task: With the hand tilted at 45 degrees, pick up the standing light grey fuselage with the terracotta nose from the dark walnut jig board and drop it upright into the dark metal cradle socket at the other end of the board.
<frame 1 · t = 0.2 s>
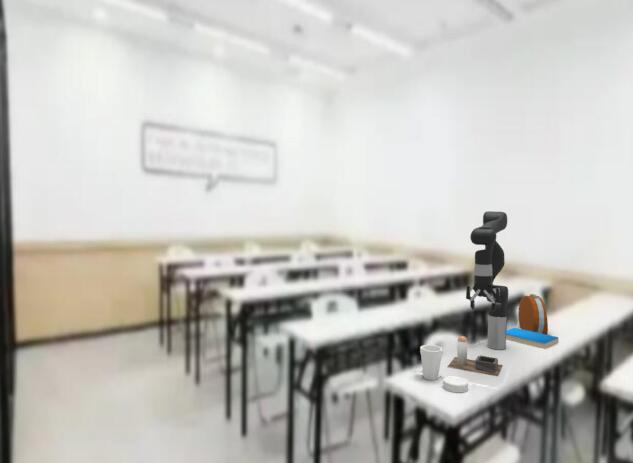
hand: (482, 310, 200), 29 cm above the table, tool pointing down, fingers open, 8 cm apart
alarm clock: (533, 331, 271), on the table
coaster: (455, 388, 186), on the table
foam cup: (430, 377, 198), on the table
book: (528, 341, 253), on the table
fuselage: (461, 363, 211), point 1 cm above the table, touching jig board
jig board: (475, 368, 208), on the table
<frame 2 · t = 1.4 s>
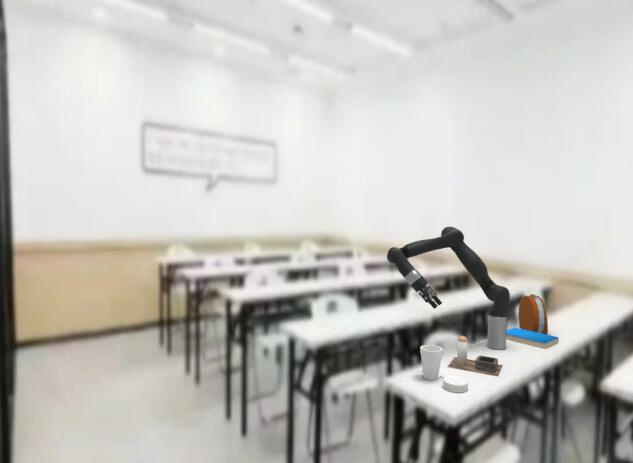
hand: (438, 305, 218), 27 cm above the table, tool tilted 45°, fingers open, 8 cm apart
nothing on the table moved.
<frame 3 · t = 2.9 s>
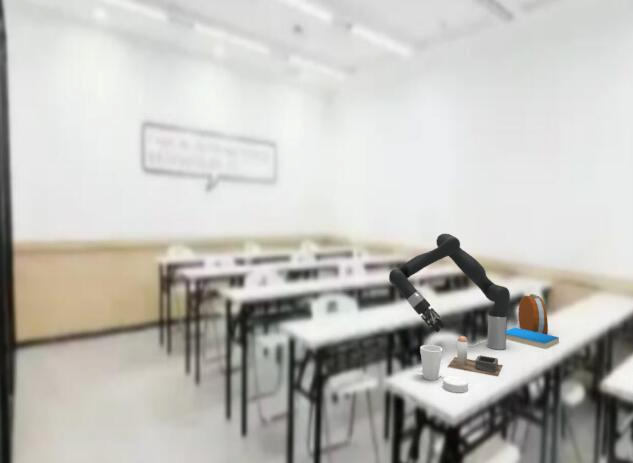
hand: (441, 329, 215), 16 cm above the table, tool tilted 45°, fingers open, 8 cm apart
nothing on the table moved.
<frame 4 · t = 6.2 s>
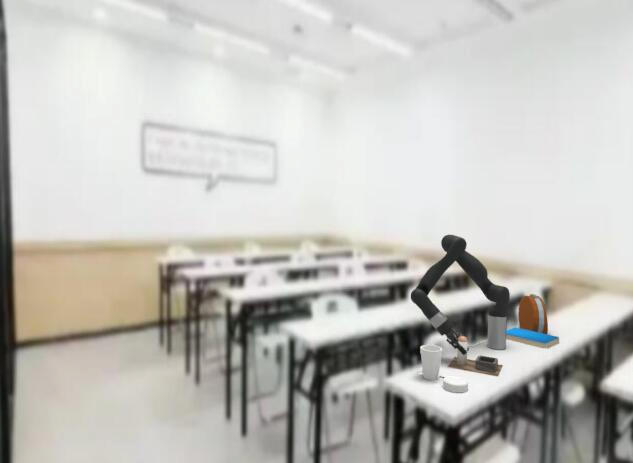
hand: (466, 352, 210), 7 cm above the table, tool tilted 45°, fingers closed on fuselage, 4 cm apart
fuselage: (461, 363, 211), point 1 cm above the table, touching gripper, jig board
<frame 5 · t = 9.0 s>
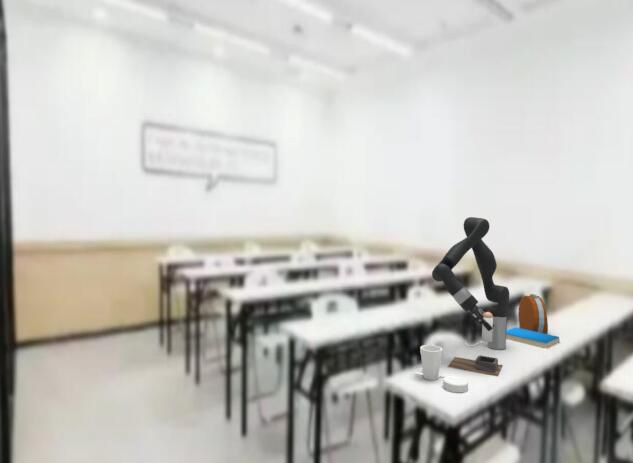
hand: (491, 328, 204), 20 cm above the table, tool tilted 45°, fingers closed on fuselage, 4 cm apart
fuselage: (486, 340, 205), point 14 cm above the table, touching gripper
when the fingers open (9 cm above the table, at t = 12.1 s): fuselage drops 1 cm, resting on jig board.
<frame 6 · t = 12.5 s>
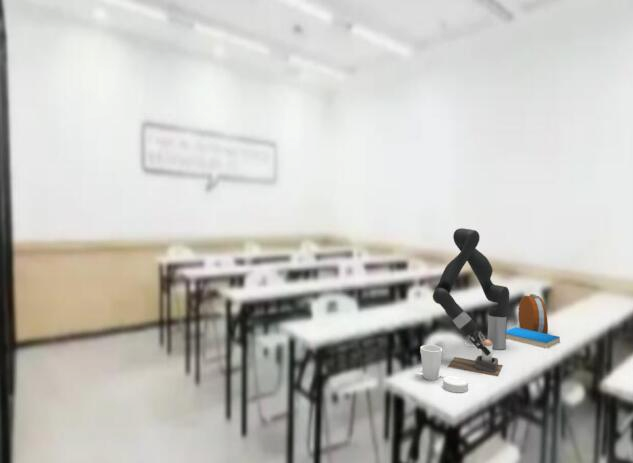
hand: (490, 351, 205), 9 cm above the table, tool tilted 45°, fingers open, 7 cm apart
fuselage: (486, 368, 206), point 1 cm above the table, touching jig board
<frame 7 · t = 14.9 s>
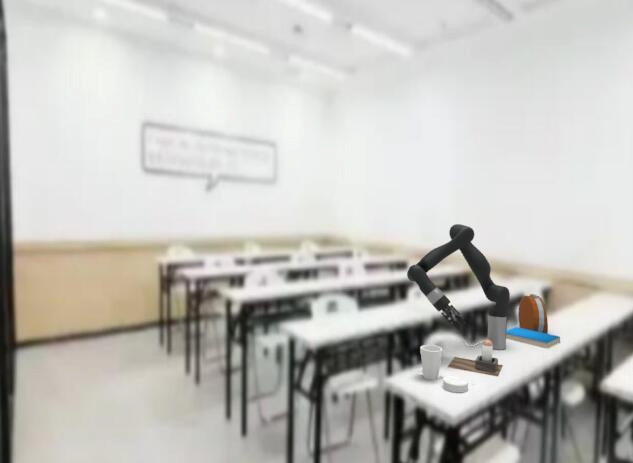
hand: (461, 326, 210), 19 cm above the table, tool tilted 45°, fingers open, 8 cm apart
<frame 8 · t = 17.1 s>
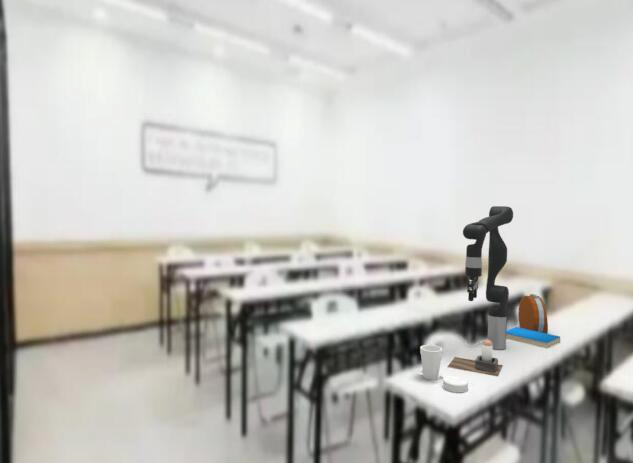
hand: (472, 299, 218), 30 cm above the table, tool pointing down, fingers open, 8 cm apart
at the end: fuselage 0.1 cm from the target spot on the jig board, point 1.2 cm above the jig board's base; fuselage tilted 1°; the gripper is holding nothing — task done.
